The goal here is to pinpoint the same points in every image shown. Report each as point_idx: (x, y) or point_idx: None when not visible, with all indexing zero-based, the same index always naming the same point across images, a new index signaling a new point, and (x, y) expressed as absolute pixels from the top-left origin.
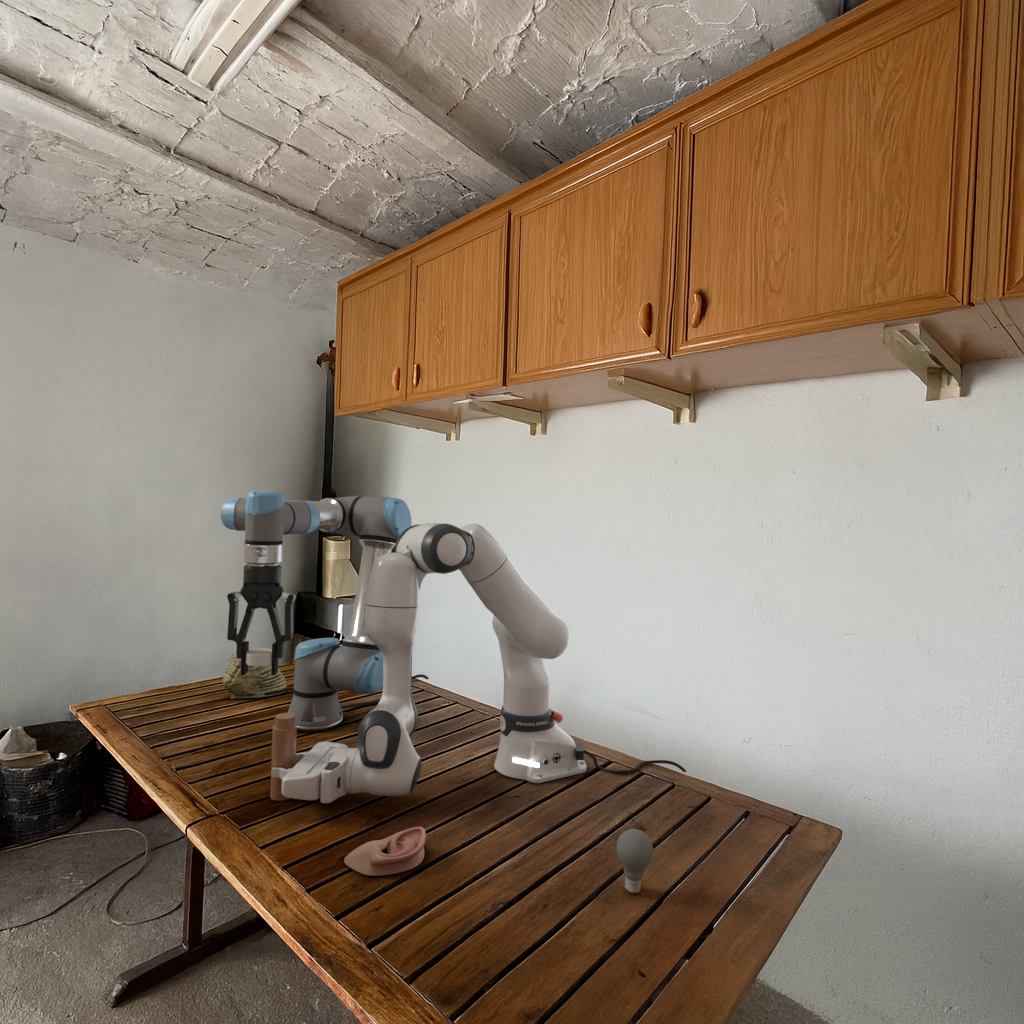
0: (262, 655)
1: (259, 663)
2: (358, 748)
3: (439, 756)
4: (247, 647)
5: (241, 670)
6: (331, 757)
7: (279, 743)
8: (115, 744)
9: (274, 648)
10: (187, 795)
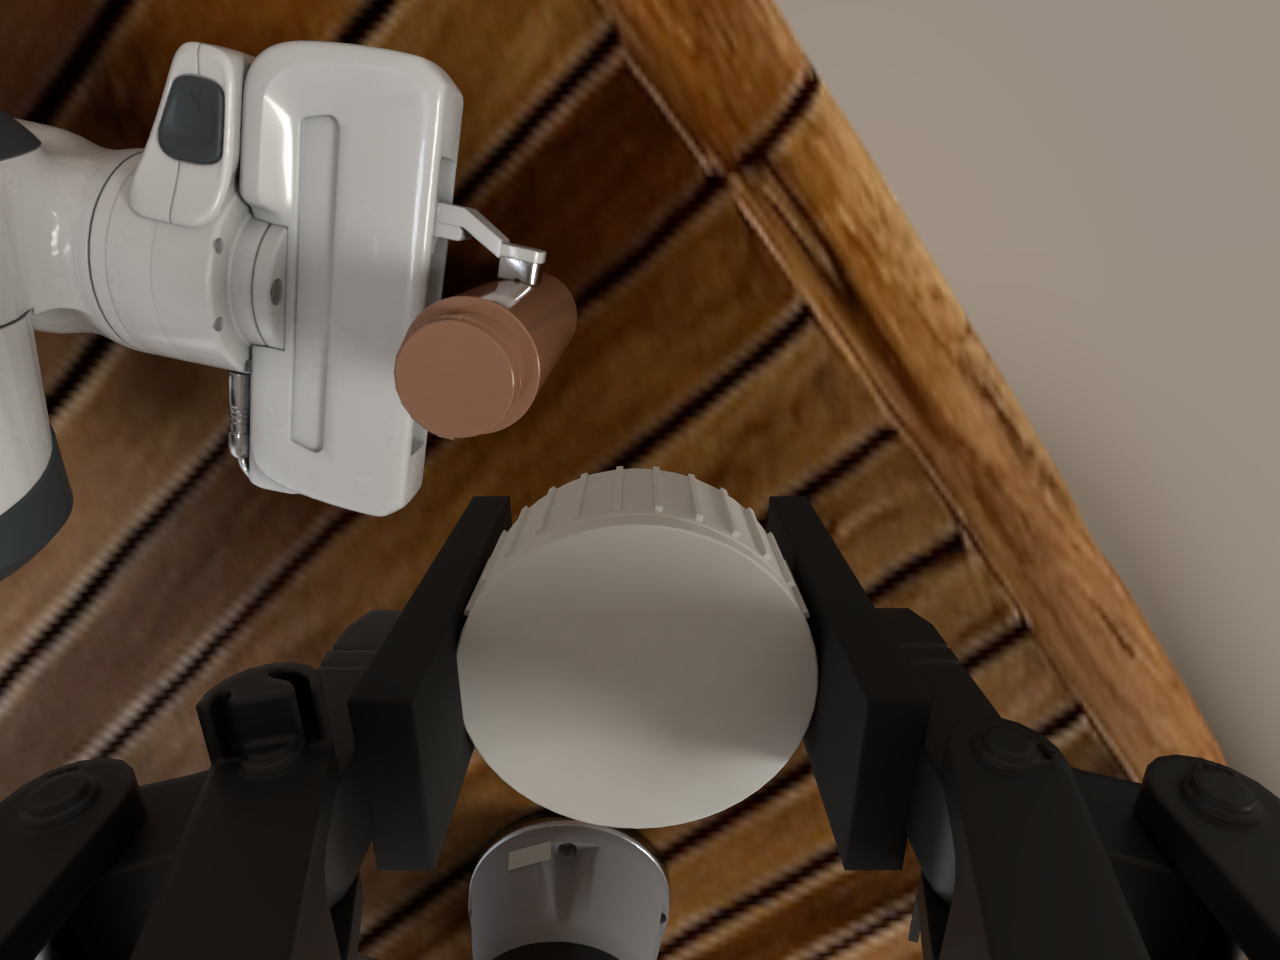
0: (562, 533)
1: (603, 481)
2: (106, 303)
3: (40, 614)
4: (830, 751)
5: (809, 515)
6: (244, 257)
7: (495, 290)
8: (1204, 736)
9: (395, 659)
10: (877, 332)
